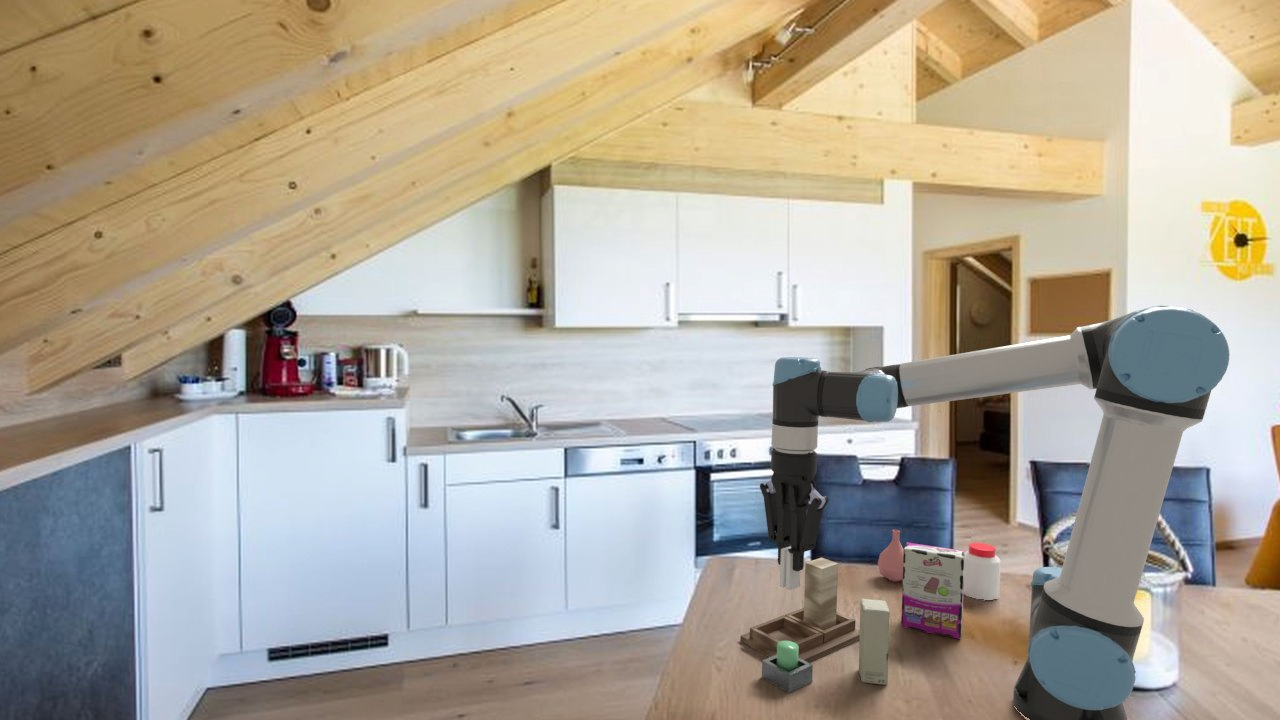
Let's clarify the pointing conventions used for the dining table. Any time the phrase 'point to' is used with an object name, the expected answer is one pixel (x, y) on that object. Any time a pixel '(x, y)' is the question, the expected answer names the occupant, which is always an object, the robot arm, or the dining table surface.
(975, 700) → the dining table surface
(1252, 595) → the dining table surface
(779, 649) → the button
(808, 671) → the grey square tray
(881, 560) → the perfume bottle
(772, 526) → the robot arm
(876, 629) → the box
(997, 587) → the pill bottle
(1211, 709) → the dining table surface
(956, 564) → the candy bar box
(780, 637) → the tray
